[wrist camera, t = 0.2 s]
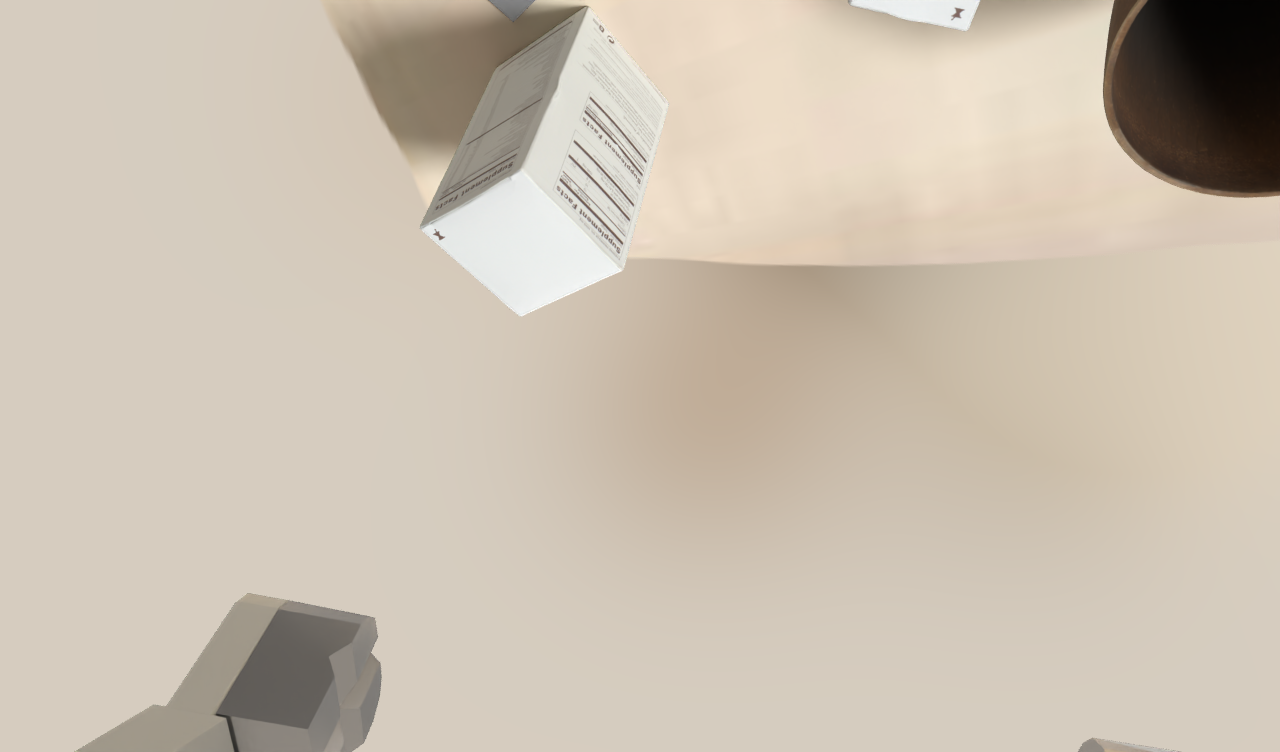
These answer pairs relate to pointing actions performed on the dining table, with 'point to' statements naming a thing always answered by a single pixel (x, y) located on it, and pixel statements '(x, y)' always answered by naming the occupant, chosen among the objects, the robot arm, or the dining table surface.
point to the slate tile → (512, 7)
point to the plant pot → (1198, 92)
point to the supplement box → (551, 167)
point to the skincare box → (926, 11)
